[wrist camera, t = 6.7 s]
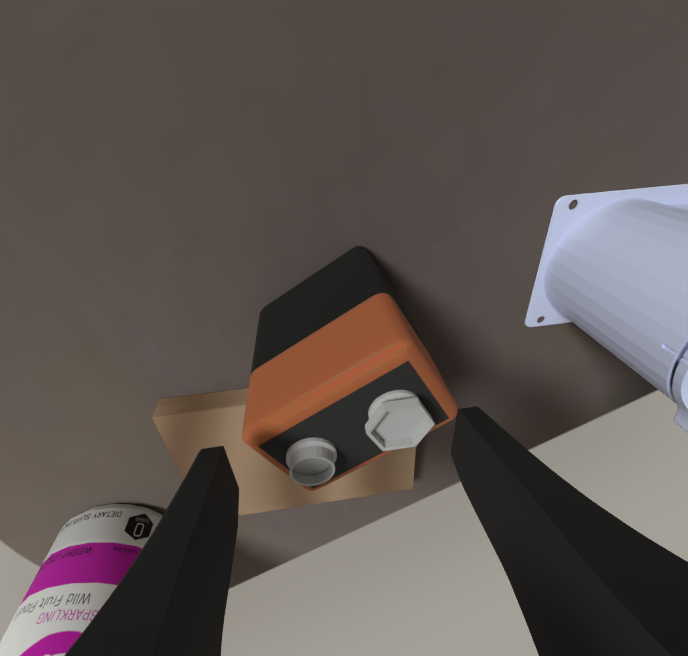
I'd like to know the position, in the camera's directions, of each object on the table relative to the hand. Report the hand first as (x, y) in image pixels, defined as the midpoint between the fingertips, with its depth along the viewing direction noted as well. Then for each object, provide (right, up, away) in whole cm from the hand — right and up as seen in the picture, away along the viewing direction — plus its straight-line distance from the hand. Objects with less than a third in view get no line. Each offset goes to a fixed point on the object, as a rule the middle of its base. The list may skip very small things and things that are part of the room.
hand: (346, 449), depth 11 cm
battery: (-1, +5, +9) cm, 11 cm away
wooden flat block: (-3, -4, +15) cm, 16 cm away
